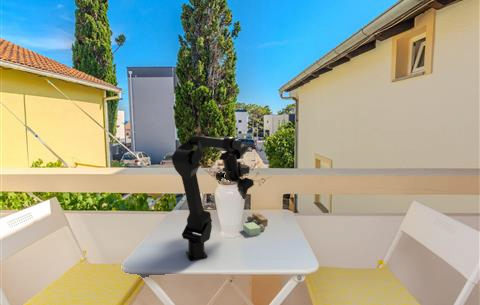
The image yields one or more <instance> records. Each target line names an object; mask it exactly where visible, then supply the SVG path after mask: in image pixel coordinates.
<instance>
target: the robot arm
mask: <svg viewBox="0 0 480 305" xmlns="http://www.w3.org/2000/svg"><path fill="white" fill-rule="evenodd" d="M193 148H195V150H192V149H193ZM204 148H213V149H215V150H217V151H224V152H222V153H221V155H220V156H219V160H220V161H223V162H222V163H223V168H222V170H223V171H225V172H226V175H225V177H224V174H225V173H222V172H220V171H219V172H220V173H218V172H216V174H215V180H216V181H218V180H219V181H221V179H223V178H224V179H226V180H229V181H230V183H233V182H234V183H237V184H236V186H237V188H238V189H237V191H238V193H239V195H240V197H241V196H242V197H241V198H242V200H243V199H244V201H245V200H246V198H247V194H248V190H249V189H250V188H252V187H253V186H255V182H254V180H253V179H251V178H248V177H247V176H245V177H244V178H242V177H243V176H244V175H249V174H250V170H251V169H250V168H251V167H250V166H249V165H247V164H243V163H241V162H240V161H238V160H240V159H241V158H242V157H243V156H244V155H245V154H246V153H247V151H248V148H247V146H246V145H245V144H244V143H243V141H242V140H241V139H240V140H239V139H237V140H236V138H235V137H234V136H217V137H212V136H211V137H210V136H204V135H192V136H190V137H189V138H188V140H187V141H185V142H184V143H182V144H181V145H179V146H178V147H177V149H176V150H175V151H174V152H173V153H172V156H171V162H172V165H173V168H174V170H175V171H176V172H177V173H178V174H179V176H180V177H181V179H182V184H183V189H184V193H185V199H186V203H187V206H188V207H187V208H188V212H189V213H188V216H187V217H186V225H185V227H184V230H183V231H182V233H181V236H182V239H183V240H187V242H188V243H187V244H188V249H187V250H186V251H185V255H186V257H187V259H188V260H189V261H196V260H202V259H207V258H208V254H207V252H206V251H205V242H207V241H209V240H210V238H211V233H212V227H213V226H212V225H213V223H212V222H213V220H212V217H211V216H212V215H211V212H210V211H207V210H205V209H204V206H203V202H202V201H203V200H202V196H201V191H200V187H199V186H200V185H199V180H198V175H197V173H198V171H199V168H200V161H201V159H202V158H203V155H204ZM219 181H218V182H219Z"/></svg>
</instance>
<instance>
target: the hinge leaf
mask: <svg viewBox="0 0 480 305" xmlns="http://www.w3.org/2000/svg"><path fill="white" fill-rule="evenodd" d="M242 229H243V232H245V233H246V234H247V235H248V236H249V237H252V236H258V235H261V232H264V231H265V230H266V226H263V225H262V224H260V225H257V224H255V223H254V222H246V223H243V226H242Z"/></svg>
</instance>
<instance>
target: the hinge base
mask: <svg viewBox="0 0 480 305" xmlns="http://www.w3.org/2000/svg"><path fill="white" fill-rule="evenodd" d="M251 214H252V215H249V216H247V221H248V223H251V222H254V223H255V224H257V225H260V224H262V225H263V226H264V227H266V226H267V227H268V219H269V218H266V216H263V215H262V214H261V213H259V212H253V213H251Z"/></svg>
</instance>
